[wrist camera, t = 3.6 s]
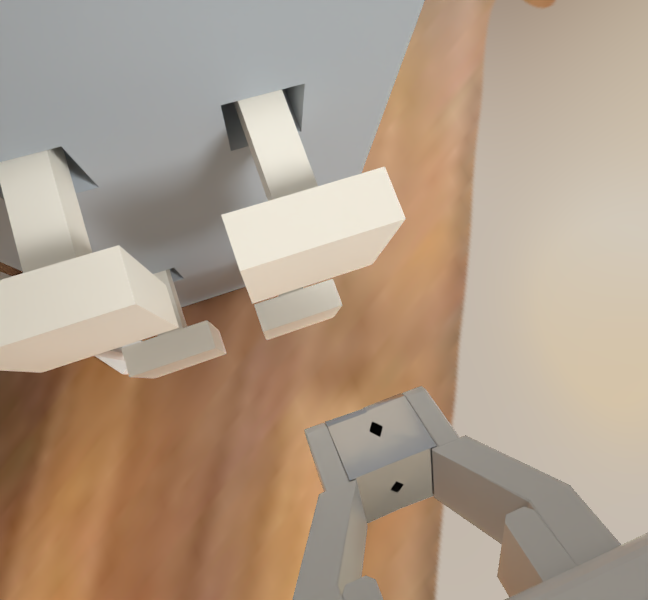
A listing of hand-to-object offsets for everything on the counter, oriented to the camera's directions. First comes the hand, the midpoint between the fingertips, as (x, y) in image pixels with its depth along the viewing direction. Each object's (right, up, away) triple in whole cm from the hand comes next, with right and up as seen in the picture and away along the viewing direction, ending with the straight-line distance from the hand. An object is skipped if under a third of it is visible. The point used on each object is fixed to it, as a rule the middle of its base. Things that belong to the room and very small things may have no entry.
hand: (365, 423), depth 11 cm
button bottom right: (-3, +4, +12) cm, 13 cm away
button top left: (-7, +4, +1) cm, 9 cm away
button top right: (-2, +6, +2) cm, 7 cm away
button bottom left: (-8, +2, +11) cm, 14 cm away
